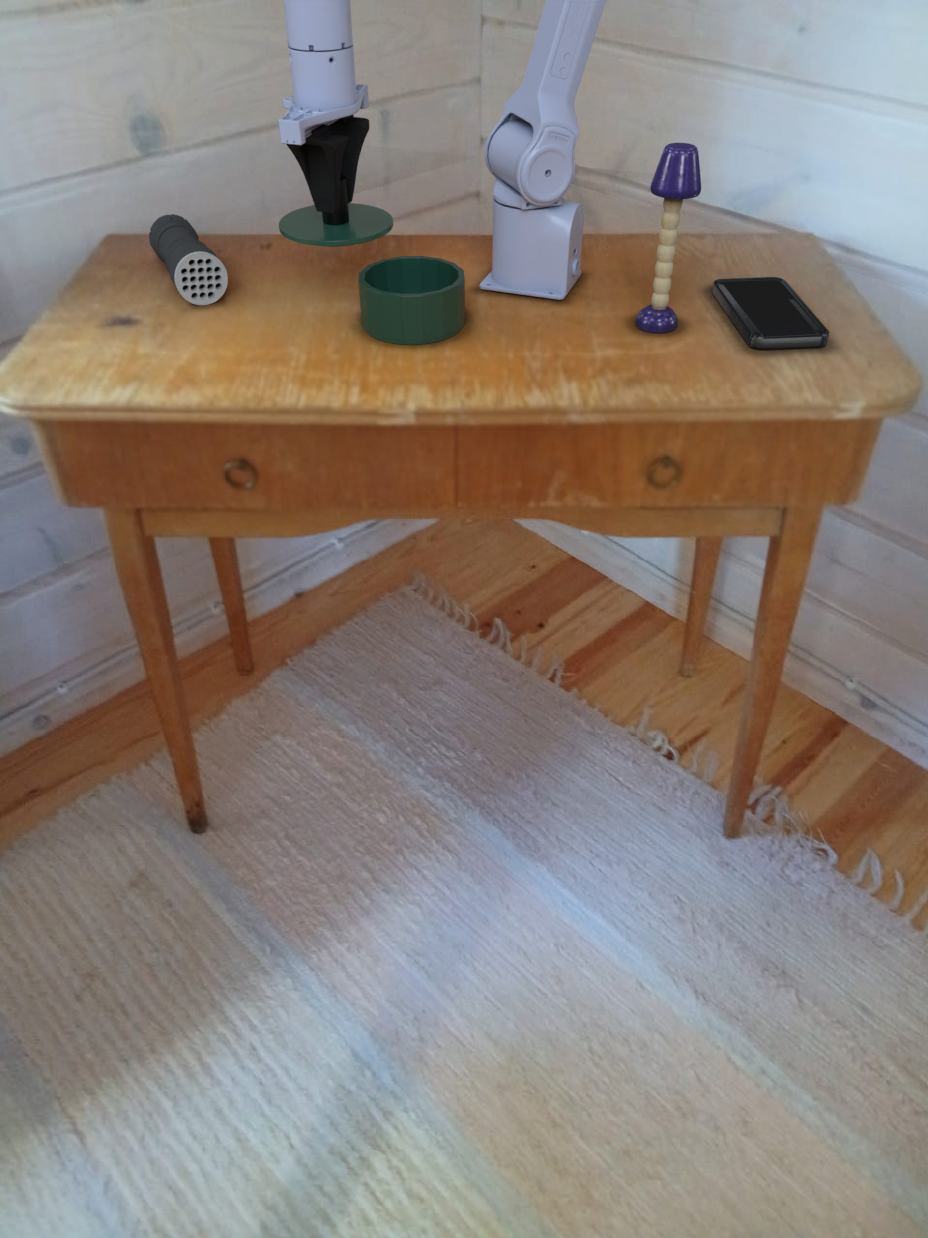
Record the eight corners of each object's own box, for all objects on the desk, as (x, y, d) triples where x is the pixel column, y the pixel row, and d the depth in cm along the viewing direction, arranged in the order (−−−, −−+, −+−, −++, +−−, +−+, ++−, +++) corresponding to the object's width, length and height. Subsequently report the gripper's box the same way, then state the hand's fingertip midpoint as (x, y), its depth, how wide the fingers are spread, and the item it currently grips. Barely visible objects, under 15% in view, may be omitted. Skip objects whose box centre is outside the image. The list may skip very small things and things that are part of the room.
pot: (478, 309, 99) (478, 262, 96) (443, 351, 92) (442, 301, 89) (387, 296, 102) (384, 250, 99) (345, 335, 95) (341, 287, 92)
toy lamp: (629, 314, 98) (649, 139, 87) (673, 312, 99) (699, 137, 88) (640, 334, 95) (663, 153, 84) (686, 332, 95) (714, 152, 84)
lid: (410, 220, 97) (408, 167, 94) (365, 258, 89) (361, 201, 86) (311, 208, 100) (306, 156, 96) (259, 244, 92) (251, 188, 88)
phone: (753, 339, 91) (711, 278, 102) (751, 350, 92) (709, 288, 103) (834, 335, 91) (783, 276, 103) (831, 346, 92) (780, 286, 103)
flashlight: (151, 261, 110) (140, 212, 107) (197, 253, 112) (188, 205, 109) (181, 309, 100) (170, 257, 96) (231, 300, 102) (223, 248, 98)
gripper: (316, 28, 90) (330, 180, 99) (239, 58, 80) (262, 225, 89) (385, 32, 88) (392, 187, 97) (315, 64, 78) (330, 233, 87)
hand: (334, 205), depth 93 cm, fingers closed on lid, 2 cm apart
